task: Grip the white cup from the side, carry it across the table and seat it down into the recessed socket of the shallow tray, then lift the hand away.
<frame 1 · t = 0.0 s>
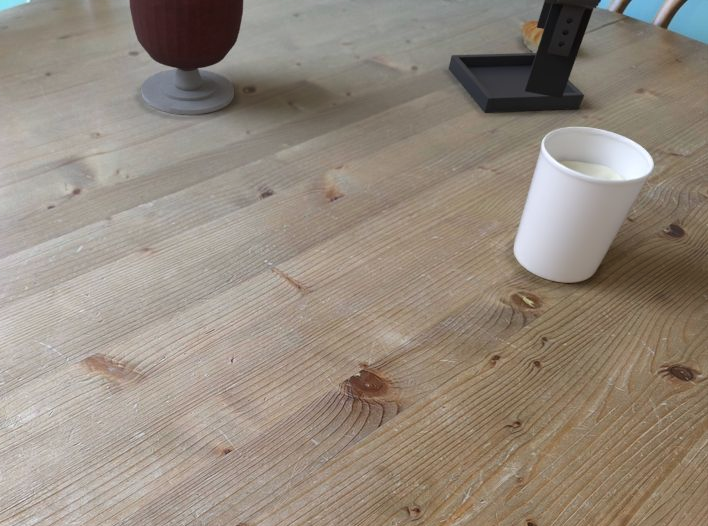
hand: (548, 58, 61), 21 cm above the table, tool pointing down, fingers open, 13 cm apart
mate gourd: (190, 96, 99), on the table
white cup: (553, 259, 76), on the table
pastry: (543, 49, 116), on the table
shallow tray: (511, 88, 105), on the table
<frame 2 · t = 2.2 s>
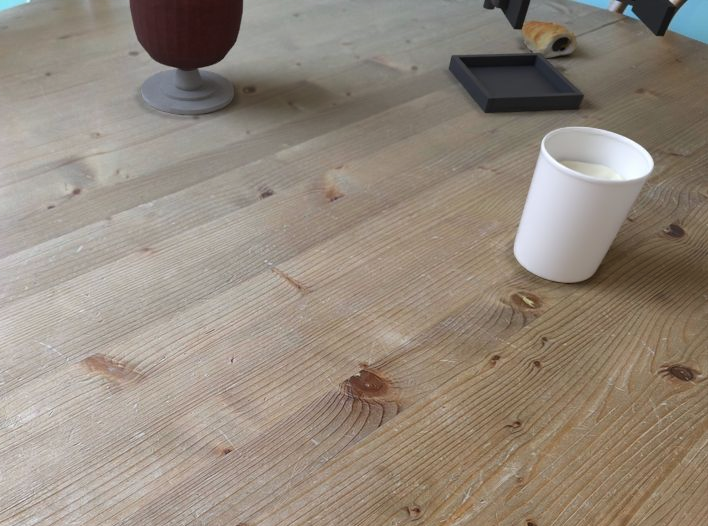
hand: (594, 18, 70), 20 cm above the table, tool horizontal, fingers open, 13 cm apart
nothing on the table moved.
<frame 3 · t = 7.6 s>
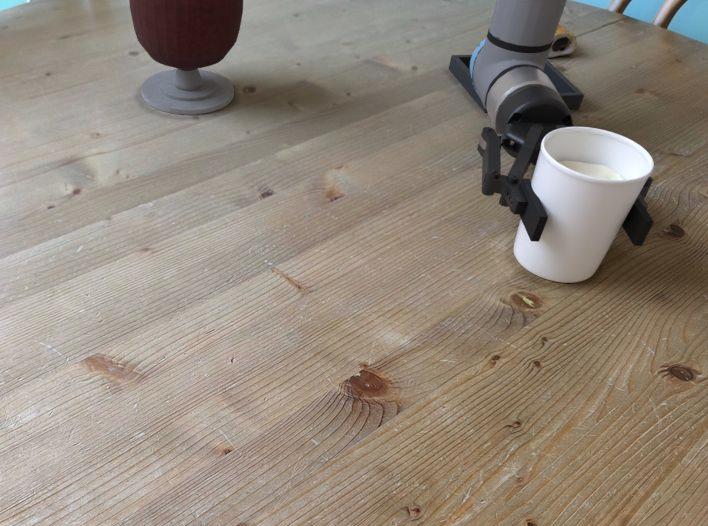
hand: (591, 231, 69), 6 cm above the table, tool horizontal, fingers closed on white cup, 9 cm apart
white cup: (553, 259, 76), on the table, touching gripper
everything else where it was.
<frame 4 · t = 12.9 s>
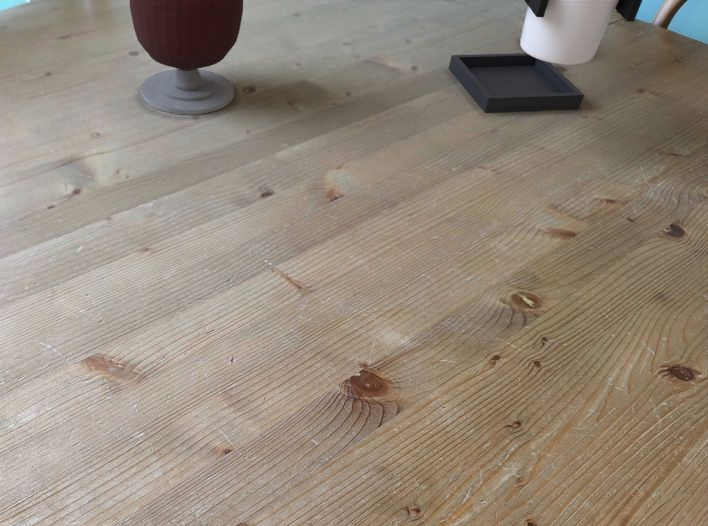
hand: (589, 6, 78), 18 cm above the table, tool horizontal, fingers closed on white cup, 9 cm apart
white cup: (555, 51, 86), point 11 cm above the table, touching gripper
everything else where it was.
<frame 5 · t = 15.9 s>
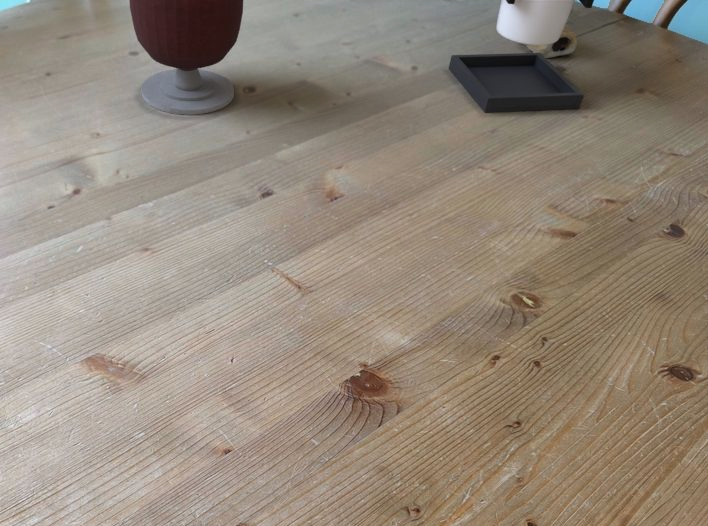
white cup: (526, 34, 100), point 7 cm above the table, touching gripper
everything else where it was.
when the fingers open (7 cm above the table, at t = 18.3 s): white cup stays where it is, resting on shallow tray.
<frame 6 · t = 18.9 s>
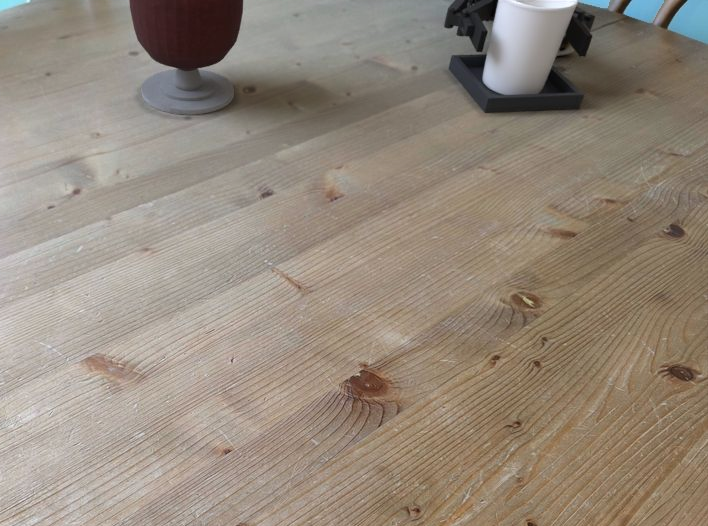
hand: (534, 44, 97), 7 cm above the table, tool horizontal, fingers open, 13 cm apart
white cup: (511, 85, 105), resting on shallow tray
everything else where it was.
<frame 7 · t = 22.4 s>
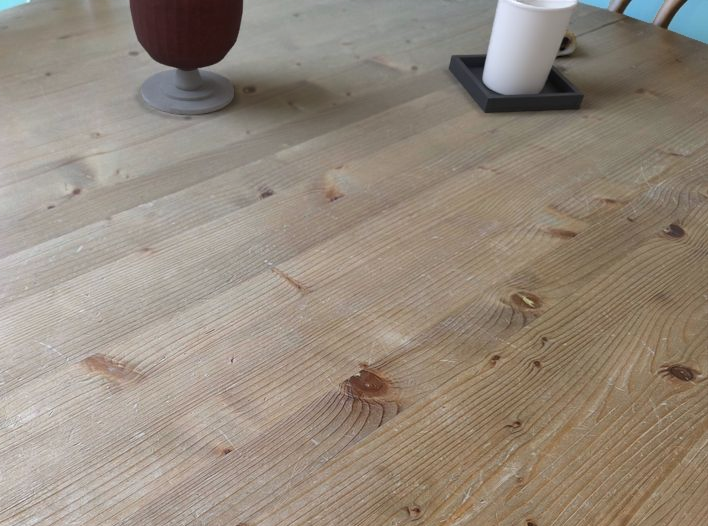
nothing on the table moved.
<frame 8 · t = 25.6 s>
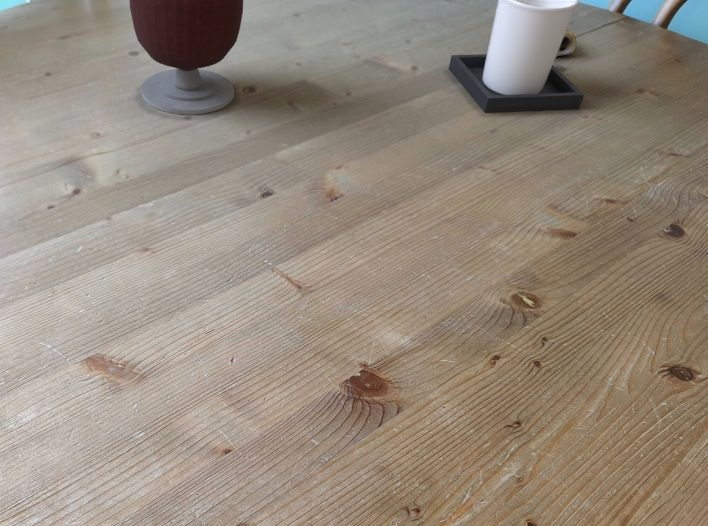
nothing on the table moved.
at the end: white cup 0.1 cm off-centre in the shallow tray, point 0.3 cm above the shallow tray's base; white cup tilted 0°; the gripper is holding nothing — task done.
